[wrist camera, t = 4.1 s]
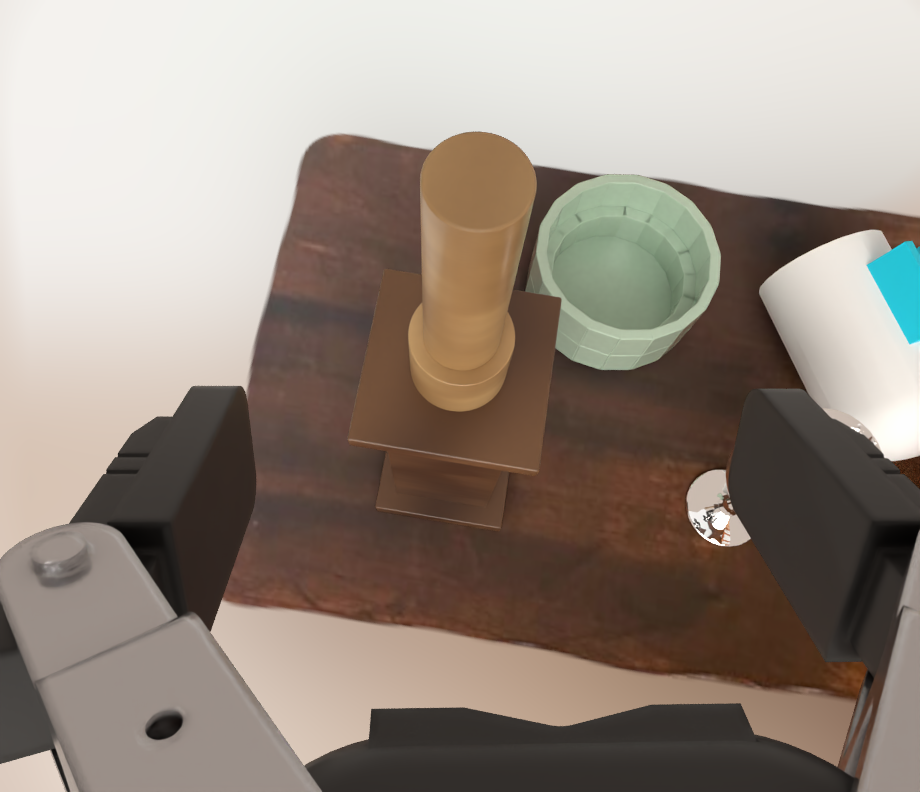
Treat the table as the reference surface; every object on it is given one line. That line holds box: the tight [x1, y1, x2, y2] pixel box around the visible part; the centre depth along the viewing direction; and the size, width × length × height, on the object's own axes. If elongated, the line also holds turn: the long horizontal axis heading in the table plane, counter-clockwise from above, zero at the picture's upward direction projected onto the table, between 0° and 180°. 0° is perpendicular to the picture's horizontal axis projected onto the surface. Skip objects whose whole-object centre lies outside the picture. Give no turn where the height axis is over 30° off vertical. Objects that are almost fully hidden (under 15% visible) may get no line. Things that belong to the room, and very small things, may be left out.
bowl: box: [525, 174, 721, 370], centre depth 44 cm, size 10×10×6 cm
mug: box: [759, 230, 920, 461], centre depth 43 cm, size 12×9×12 cm
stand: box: [347, 269, 562, 531], centre depth 36 cm, size 7×7×16 cm
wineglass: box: [686, 408, 882, 547], centre depth 37 cm, size 6×6×12 cm
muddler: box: [408, 132, 537, 412], centre depth 22 cm, size 4×4×12 cm
